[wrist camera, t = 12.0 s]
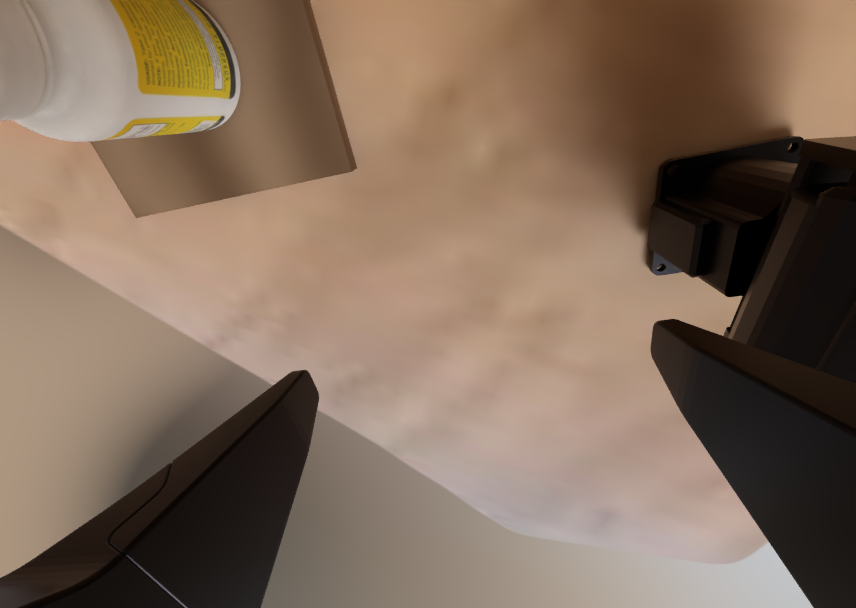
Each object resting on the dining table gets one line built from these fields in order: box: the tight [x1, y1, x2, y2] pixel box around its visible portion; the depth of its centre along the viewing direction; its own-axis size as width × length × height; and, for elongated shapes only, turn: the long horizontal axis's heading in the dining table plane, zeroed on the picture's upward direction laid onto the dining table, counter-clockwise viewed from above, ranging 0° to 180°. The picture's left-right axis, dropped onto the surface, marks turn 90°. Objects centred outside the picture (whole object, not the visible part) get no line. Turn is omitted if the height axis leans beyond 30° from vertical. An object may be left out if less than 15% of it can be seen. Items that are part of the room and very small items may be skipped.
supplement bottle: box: [0, 0, 241, 142], centre depth 12 cm, size 5×5×10 cm
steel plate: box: [90, 0, 357, 218], centre depth 17 cm, size 13×10×1 cm
